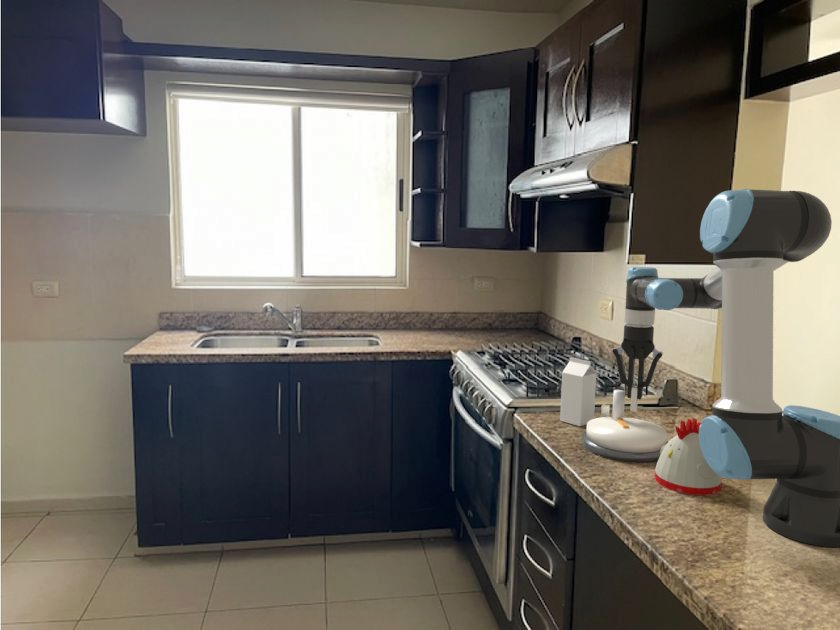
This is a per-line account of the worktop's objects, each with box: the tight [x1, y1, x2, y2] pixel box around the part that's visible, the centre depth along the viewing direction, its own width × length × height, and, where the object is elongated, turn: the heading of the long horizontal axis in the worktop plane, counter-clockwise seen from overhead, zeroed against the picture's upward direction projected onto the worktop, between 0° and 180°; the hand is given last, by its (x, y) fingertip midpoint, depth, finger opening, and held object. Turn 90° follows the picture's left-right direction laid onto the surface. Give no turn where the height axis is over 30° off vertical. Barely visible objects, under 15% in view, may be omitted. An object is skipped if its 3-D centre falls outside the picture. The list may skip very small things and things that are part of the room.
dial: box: [585, 389, 668, 453], centre depth 161 cm, size 20×20×11 cm
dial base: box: [581, 403, 669, 464], centre depth 163 cm, size 25×22×7 cm
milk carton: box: [559, 357, 597, 427], centre depth 182 cm, size 7×7×19 cm
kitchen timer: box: [654, 417, 722, 496], centre depth 139 cm, size 14×14×15 cm
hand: (633, 409), depth 167 cm, fingers closed
